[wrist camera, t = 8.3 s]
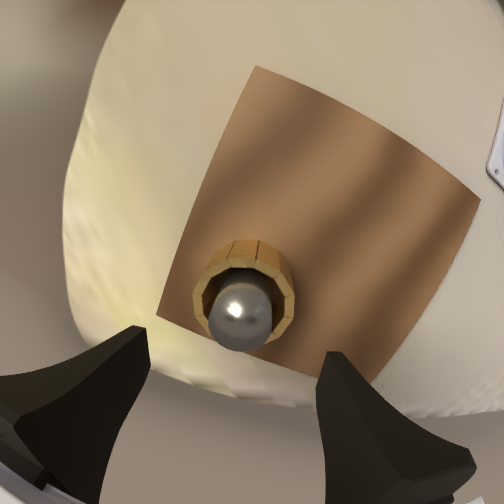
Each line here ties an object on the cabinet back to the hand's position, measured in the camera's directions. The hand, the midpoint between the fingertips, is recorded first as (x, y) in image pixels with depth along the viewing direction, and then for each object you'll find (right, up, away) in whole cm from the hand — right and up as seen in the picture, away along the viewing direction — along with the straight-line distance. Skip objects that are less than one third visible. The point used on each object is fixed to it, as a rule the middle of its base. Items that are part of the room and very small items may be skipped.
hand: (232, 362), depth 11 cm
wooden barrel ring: (0, +3, +8) cm, 8 cm away
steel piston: (+1, +3, +9) cm, 9 cm away
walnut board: (+6, +4, +8) cm, 11 cm away
